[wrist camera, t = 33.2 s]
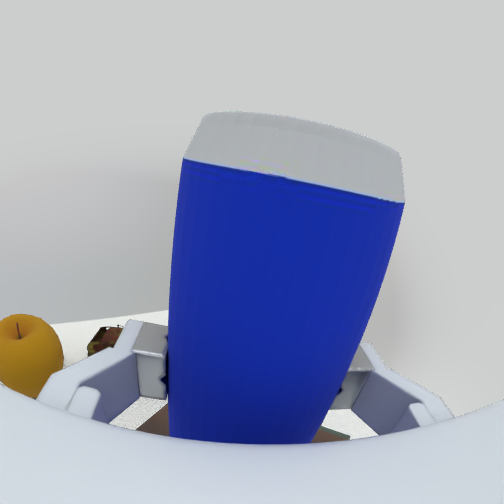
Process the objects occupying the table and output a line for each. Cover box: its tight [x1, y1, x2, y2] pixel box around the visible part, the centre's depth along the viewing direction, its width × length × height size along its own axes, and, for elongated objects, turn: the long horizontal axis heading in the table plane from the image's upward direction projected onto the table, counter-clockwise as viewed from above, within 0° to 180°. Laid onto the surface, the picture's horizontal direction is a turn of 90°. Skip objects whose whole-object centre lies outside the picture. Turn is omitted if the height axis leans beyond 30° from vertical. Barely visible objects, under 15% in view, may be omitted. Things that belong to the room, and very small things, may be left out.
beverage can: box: [168, 111, 405, 444], centre depth 9 cm, size 5×5×15 cm
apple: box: [0, 314, 64, 398], centre depth 21 cm, size 9×9×9 cm
